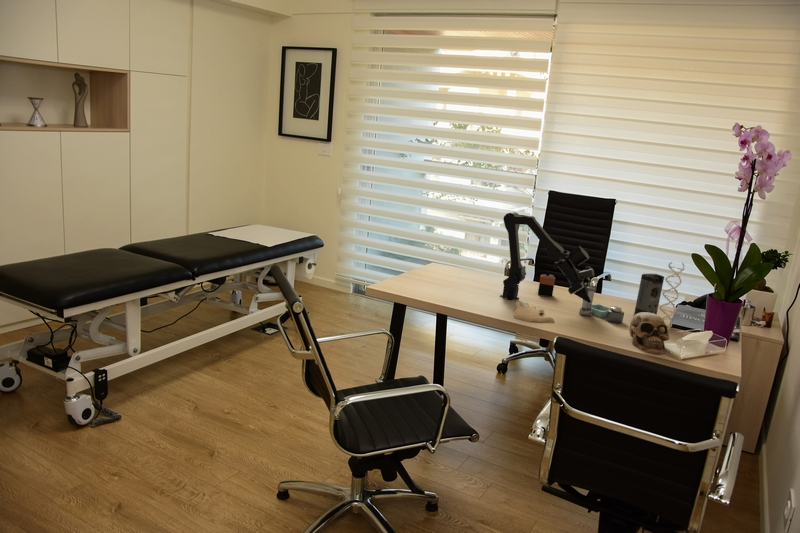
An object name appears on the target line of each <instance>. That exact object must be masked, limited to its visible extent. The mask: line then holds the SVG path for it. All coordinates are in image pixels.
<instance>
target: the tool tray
mask: <svg viewBox="0 0 800 533" xmlns="http://www.w3.org/2000/svg"><path fill="white" fill-rule="evenodd" d="M607 309H611V307H608V306H606V305H603V304H600V303H592V307H591V310H592V315H591V316H595V317H597V316H598V318H600V317H602V318H606V313H607Z"/></svg>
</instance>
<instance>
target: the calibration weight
mask: <svg viewBox="0 0 800 533" xmlns="http://www.w3.org/2000/svg"><path fill="white" fill-rule="evenodd" d="M610 308H611V309H607V313H606V317H604V318H605V319H604V320H605V321H606V322H607V321H608V322H607V323H610V324H614V323H615V325H617V324H618V325H621V323H622V324H623V321H624V316H625V312H624V311H622V308H621V307H619V306H613V305H611V306H610Z"/></svg>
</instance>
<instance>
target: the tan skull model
mask: <svg viewBox="0 0 800 533" xmlns="http://www.w3.org/2000/svg"><path fill="white" fill-rule="evenodd" d="M666 325H667V324H666V322H665V319H664V320H663V317H662V316H660V315H658V314H657V315H656V314H654V313H648V312H640V313H637V314H636V315H634V314H633V316H632V318H631V320H630V322H629V329H628V330H629V336H630V337H631V338H632V339H631V340H632V341H631V344H632V345H633V346H635V348H637V347H638V348H637V349H639V350H641V351H643V352H646V353H649V354H652V355H664V354H665V351H666V346H665V342H667V341H669V340H670V333H669V331H668V330H669V329H668V327H667V326H668V325H667V326H666ZM667 329H668V330H667Z"/></svg>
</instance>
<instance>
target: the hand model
mask: <svg viewBox="0 0 800 533" xmlns="http://www.w3.org/2000/svg"><path fill="white" fill-rule="evenodd" d="M515 306H516V309H515V311H514V314H513V315H514V316H513V318H515V319H517V320H521V321H526V322H530V323H531V322H535V323H547V322H549V323H555V318H553V317H552V316H541V315H540V314H543V313H544V312H545V309H543V308H536V306H535V305H531V306H530V304H529V302H526V303H525V304H524V305H523V306H521V304H520V302H519V301H516V302H515Z"/></svg>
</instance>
